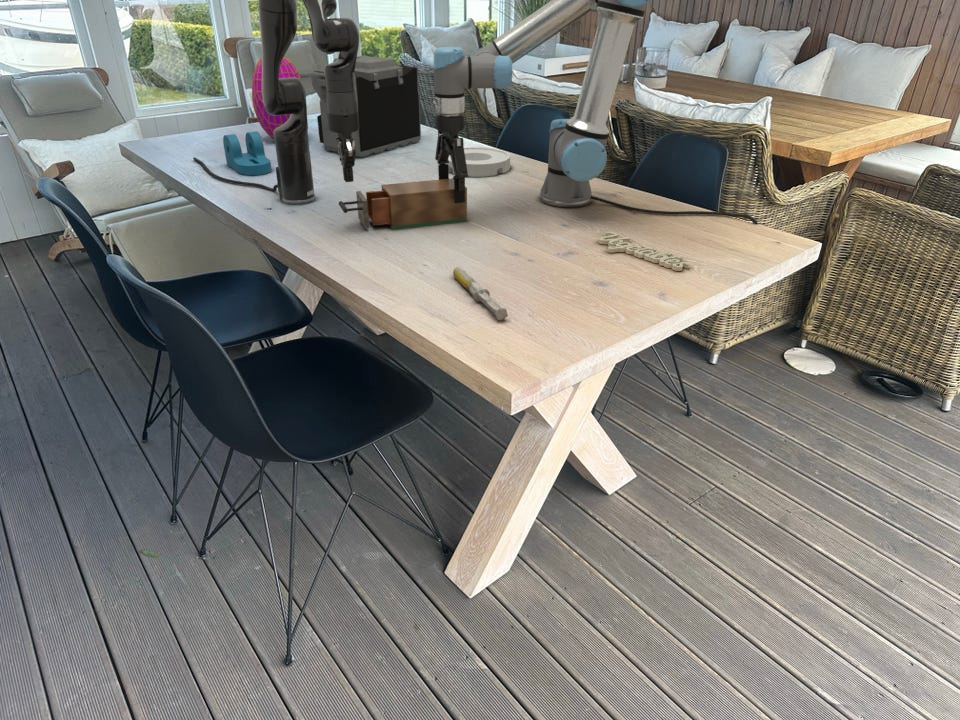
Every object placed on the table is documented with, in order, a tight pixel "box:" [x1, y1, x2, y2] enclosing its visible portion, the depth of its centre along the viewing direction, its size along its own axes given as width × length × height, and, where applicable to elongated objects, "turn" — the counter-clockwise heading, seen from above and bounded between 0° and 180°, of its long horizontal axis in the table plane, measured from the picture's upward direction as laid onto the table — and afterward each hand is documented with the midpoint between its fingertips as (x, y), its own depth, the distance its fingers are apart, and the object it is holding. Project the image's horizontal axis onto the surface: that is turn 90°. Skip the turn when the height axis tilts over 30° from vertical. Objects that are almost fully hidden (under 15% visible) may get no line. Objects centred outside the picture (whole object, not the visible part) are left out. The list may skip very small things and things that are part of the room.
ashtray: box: [446, 146, 511, 178], centre depth 232 cm, size 23×23×4 cm
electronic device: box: [310, 55, 422, 159], centre depth 250 cm, size 37×22×30 cm, turn 144°
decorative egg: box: [251, 56, 303, 140], centre depth 257 cm, size 19×19×30 cm
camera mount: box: [222, 131, 272, 176], centre depth 226 cm, size 18×10×10 cm, turn 35°
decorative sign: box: [598, 231, 690, 272], centre depth 167 cm, size 26×1×10 cm
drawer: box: [338, 189, 391, 229], centre depth 182 cm, size 25×8×7 cm, turn 110°
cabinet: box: [381, 177, 468, 231], centre depth 185 cm, size 21×10×9 cm, turn 110°
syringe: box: [452, 266, 509, 321], centre depth 145 cm, size 25×4×3 cm, turn 21°
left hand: (348, 181), depth 175 cm, fingers closed
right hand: (451, 195), depth 186 cm, fingers open, 13 cm apart
